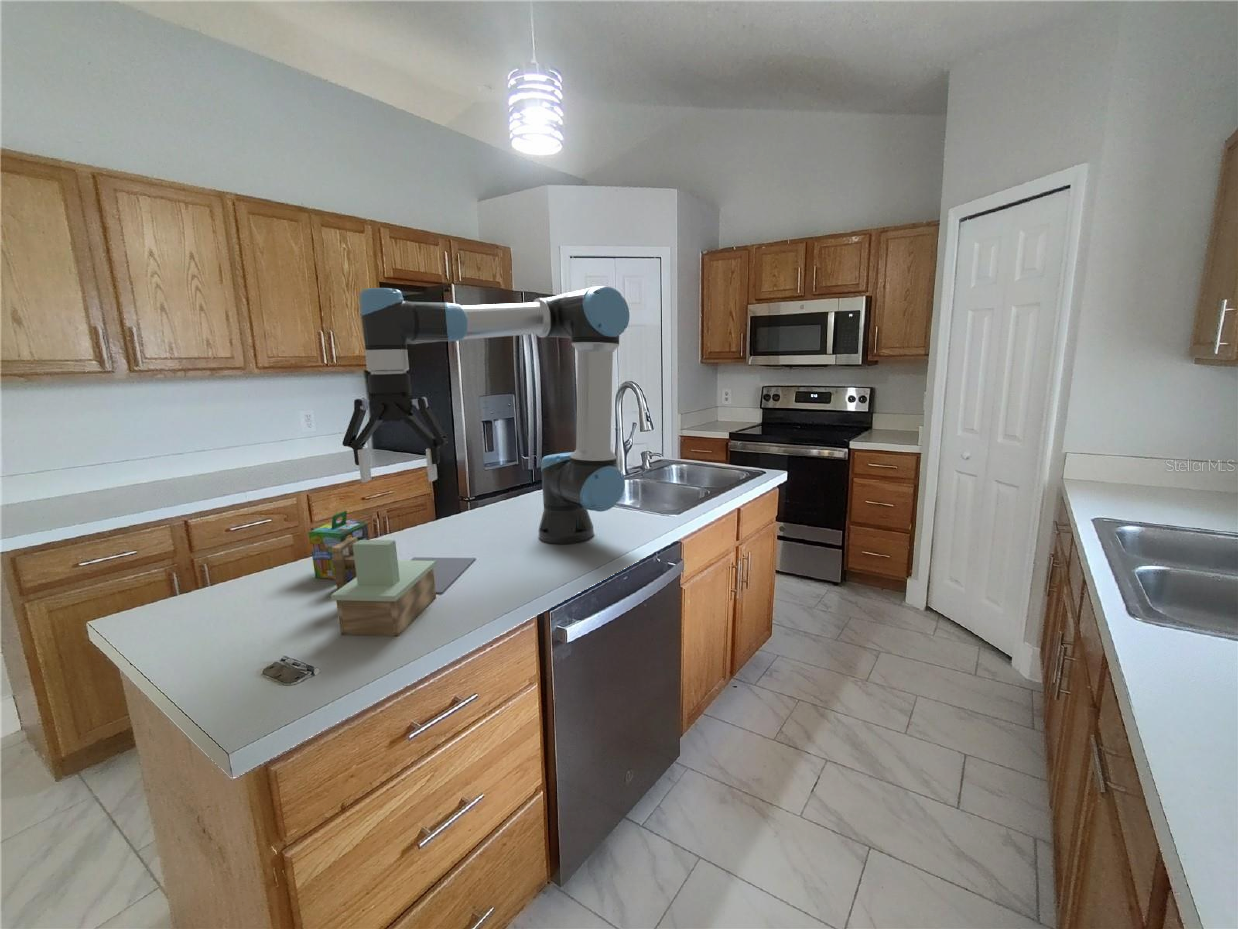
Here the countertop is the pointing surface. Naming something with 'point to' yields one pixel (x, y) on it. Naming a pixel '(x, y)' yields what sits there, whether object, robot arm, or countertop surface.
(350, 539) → the wooden storage box
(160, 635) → the countertop surface
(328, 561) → the chalk box
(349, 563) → the brown wooden bar
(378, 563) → the lid
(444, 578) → the mat
